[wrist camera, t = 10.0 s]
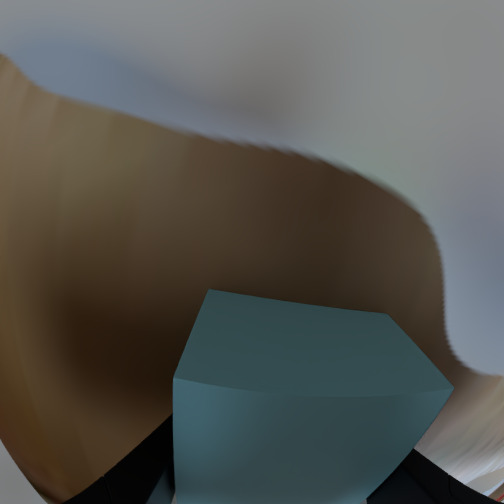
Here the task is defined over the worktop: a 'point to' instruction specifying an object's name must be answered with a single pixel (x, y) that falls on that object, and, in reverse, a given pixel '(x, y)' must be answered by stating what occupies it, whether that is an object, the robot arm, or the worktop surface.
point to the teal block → (296, 402)
